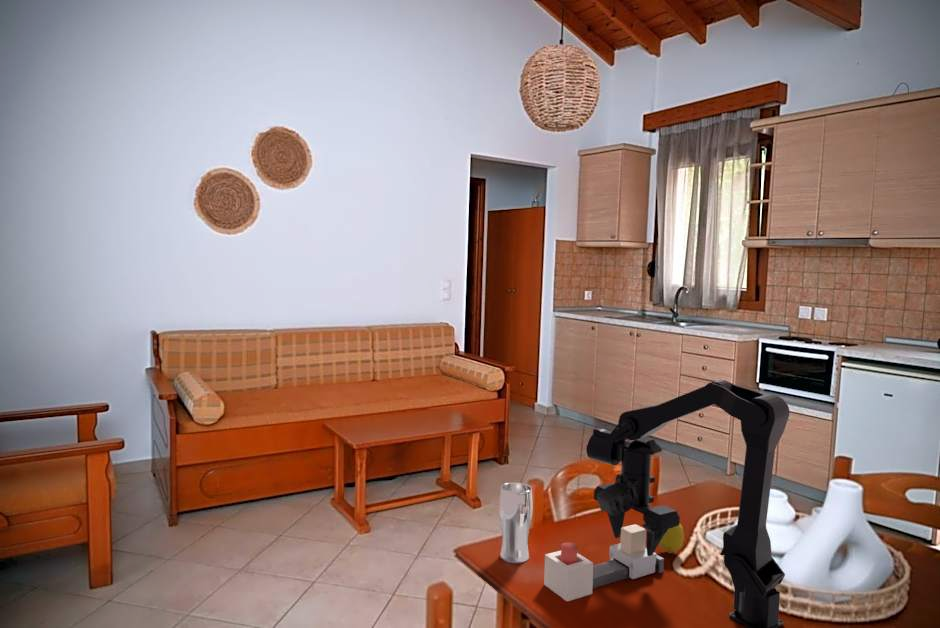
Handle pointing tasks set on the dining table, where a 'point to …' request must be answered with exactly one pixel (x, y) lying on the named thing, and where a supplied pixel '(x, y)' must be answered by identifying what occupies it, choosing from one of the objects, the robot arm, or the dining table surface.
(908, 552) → the dining table surface
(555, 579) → the white open box
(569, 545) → the red cylinder
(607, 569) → the rail
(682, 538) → the lemon
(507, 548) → the beer glass
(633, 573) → the carriage
